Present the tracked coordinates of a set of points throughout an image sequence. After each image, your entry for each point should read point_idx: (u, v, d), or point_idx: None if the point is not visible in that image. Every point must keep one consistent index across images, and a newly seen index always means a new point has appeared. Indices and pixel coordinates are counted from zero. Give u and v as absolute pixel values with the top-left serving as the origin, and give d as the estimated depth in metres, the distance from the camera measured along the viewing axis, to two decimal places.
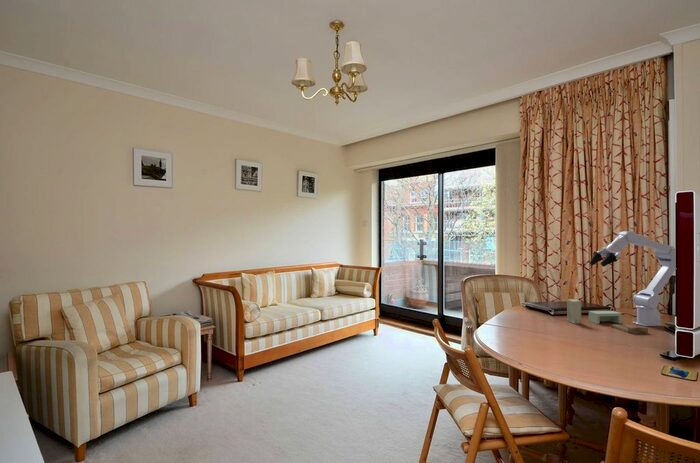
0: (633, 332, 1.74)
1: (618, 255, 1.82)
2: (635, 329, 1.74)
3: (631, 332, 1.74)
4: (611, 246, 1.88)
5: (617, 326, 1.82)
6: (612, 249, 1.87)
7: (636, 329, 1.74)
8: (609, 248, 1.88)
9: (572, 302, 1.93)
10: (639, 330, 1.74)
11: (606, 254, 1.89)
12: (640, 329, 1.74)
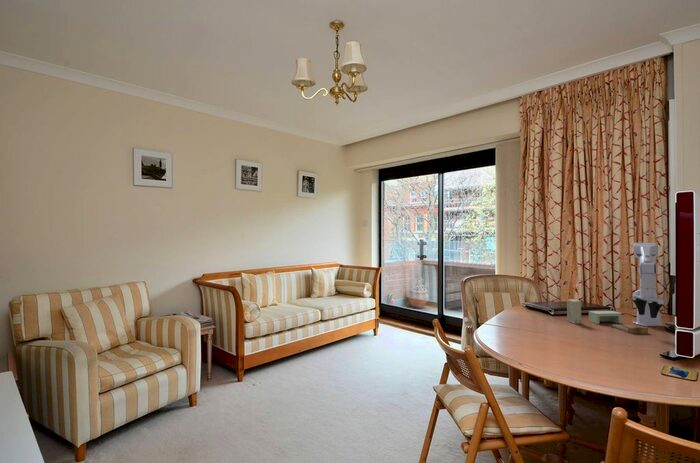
0: (633, 332, 1.74)
1: (661, 302, 1.62)
2: (635, 329, 1.74)
3: (631, 332, 1.74)
4: (645, 291, 1.68)
5: (617, 326, 1.82)
6: (648, 295, 1.67)
7: (636, 329, 1.74)
8: (645, 295, 1.68)
9: (572, 302, 1.93)
10: (639, 330, 1.74)
11: (646, 300, 1.70)
12: (640, 329, 1.74)
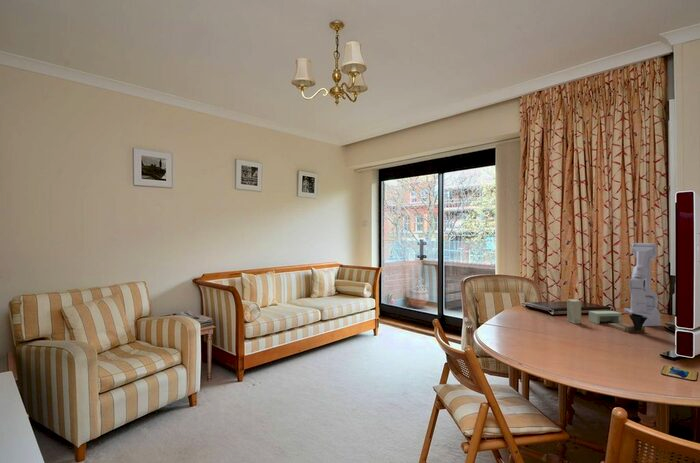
0: (630, 330, 1.76)
1: (651, 317, 1.68)
2: (632, 328, 1.76)
3: (628, 330, 1.76)
4: (635, 306, 1.73)
5: (614, 325, 1.84)
6: (639, 309, 1.72)
7: (633, 328, 1.76)
8: (635, 309, 1.73)
9: (572, 302, 1.93)
10: None
11: (637, 314, 1.75)
12: None
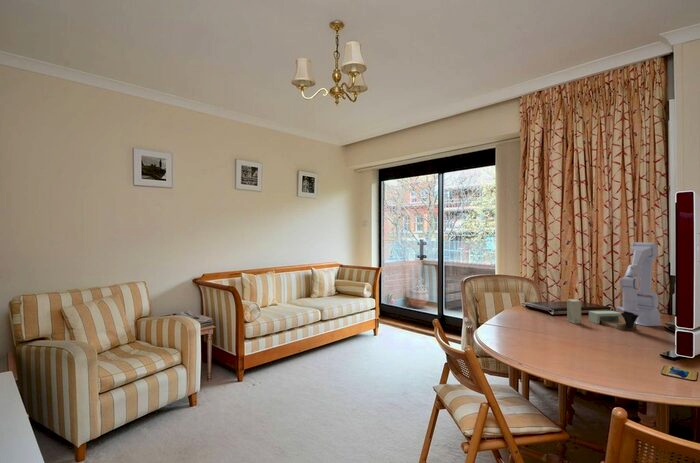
0: (622, 328, 1.80)
1: (642, 314, 1.72)
2: (624, 325, 1.80)
3: (620, 328, 1.80)
4: (627, 304, 1.78)
5: (607, 322, 1.89)
6: (630, 307, 1.77)
7: (625, 325, 1.81)
8: (627, 307, 1.78)
9: (572, 302, 1.93)
10: None
11: (629, 312, 1.80)
12: None
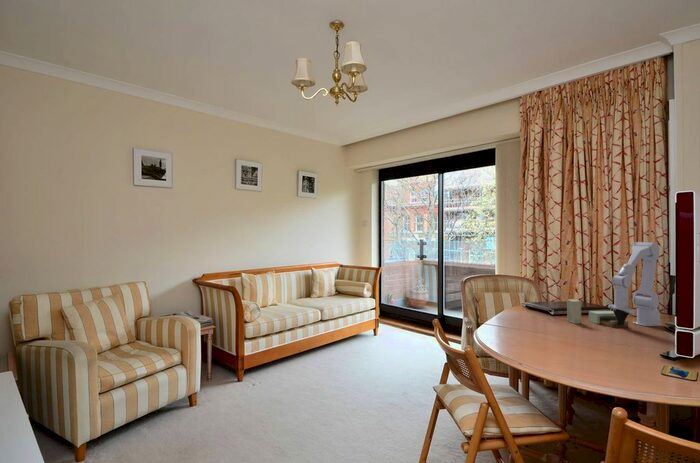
0: (614, 325, 1.85)
1: (633, 312, 1.78)
2: (616, 322, 1.85)
3: (612, 325, 1.85)
4: (618, 302, 1.83)
5: (600, 320, 1.94)
6: (622, 305, 1.82)
7: (617, 322, 1.86)
8: (618, 305, 1.83)
9: (572, 302, 1.93)
10: None
11: None
12: None
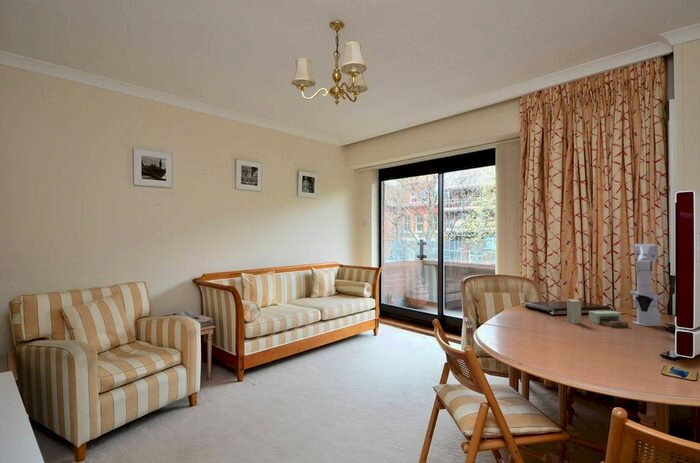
0: (614, 326, 1.85)
1: (657, 297, 1.71)
2: (616, 323, 1.85)
3: (612, 326, 1.85)
4: (642, 288, 1.77)
5: (600, 320, 1.94)
6: (645, 290, 1.76)
7: (617, 323, 1.85)
8: (642, 291, 1.77)
9: (572, 302, 1.93)
10: (619, 324, 1.86)
11: (643, 295, 1.78)
12: (620, 323, 1.86)
